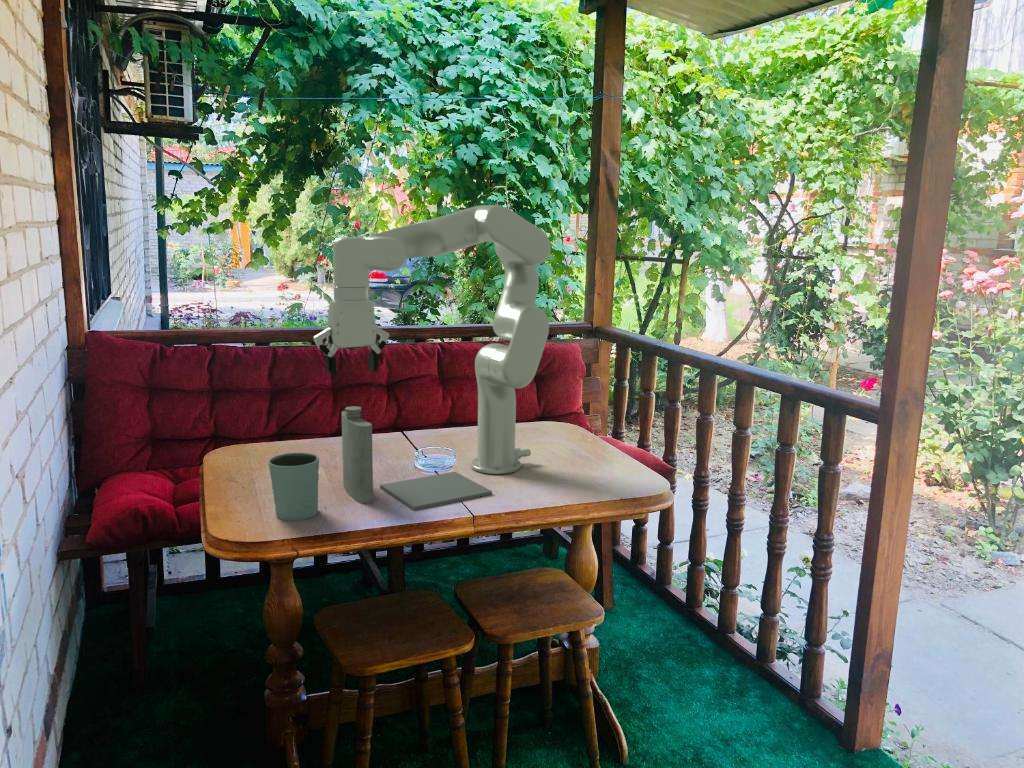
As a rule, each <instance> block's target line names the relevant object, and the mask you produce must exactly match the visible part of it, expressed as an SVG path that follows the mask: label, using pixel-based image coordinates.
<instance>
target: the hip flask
mask: <svg viewBox="0 0 1024 768" xmlns="http://www.w3.org/2000/svg"><path fill="white" fill-rule="evenodd" d="M361 412H362V407H361V406H358V405H357V406H354V405H353V406H346V407H345V408H344V410H342V411H341V443H342V445H341V447H342V450H341V451H342V453H341V454H342V484H343V488H344V490H345V491H346V493H347V494H348V495H349V496H350V497H351V498H352V499H353V500H355V501H356V502H358V503H360V504H371V503H373V502H374V479H373V478H374V473H373V472H374V470H373V468H374V467H373V466H374V465H373V460H374V459H373V458H374V457H373V424H372V423H371V422H368V421H366V420H364V419H363V418H361Z"/></svg>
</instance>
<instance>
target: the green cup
mask: <svg viewBox="0 0 1024 768" xmlns="http://www.w3.org/2000/svg"><path fill="white" fill-rule="evenodd" d="M267 462H268V467H269V474H270V480H271V485H272V486H271V487H272V488H271V489H272V494H273V503H274V506H275V507H274V510H275V515H276V518H278V519H279V518H280V520H283V521H291V522H293V521H296V522H297V521H304V520H308V519H310V517H311V518H313V517H314V516H316V515H317V514H318V513H319V510H318V509H319V500H318V499H319V479H320V478H319V476H320V475H319V470H320V469H319V467H320V456H318V455H317V454H315V453H311V452H289V453H284V454H279V455H275V456H273V457H271V458H270V459H269V460H268V461H267ZM307 518H308V519H307ZM303 519H304V520H303Z"/></svg>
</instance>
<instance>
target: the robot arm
mask: <svg viewBox="0 0 1024 768" xmlns="http://www.w3.org/2000/svg"><path fill="white" fill-rule="evenodd" d="M482 243H494V249H495V253H496V255H497V257H498V259H499V261H500V262H501V265H502V267H503V271H504V277H505V278H504V279H505V280H504V283H503V284H504V285H503V288H502V292H501V295H500V298H499V301H498V304H497V308H496V310H495V314H494V317H493V322H492V329H493V333H494V334H495V335H496V336H497V337H498V338H501V339H503V340H505V341H508V342H509V341H510V342H509V345H506V344H502V343H489V344H486V345H483V346H482V347H481V348H480V349H479V350H478V352H477V354H476V355H475V359H474V372H475V378H476V383H477V385H476V386H477V458H474V459H473V460H472V461H471V465H470V466H471V468H472V469H473V470H474V471H476V472H479V473H482V474H488V475H489V474H490V475H493V474H494V475H503V474H511V473H514V472H517V471H519V470H520V469H521V467H522V464H521V461H520V459H521V458H523V457H524V458H525V457H530V456H531V454H532V450H531V449H530V448H525V449H521V448H519V447H517V448H516V417H517V411H516V410H517V396H516V390H515V389H523V388H525V387H527V386H528V385H529V384H531V382H532V381H533V380H534V379H535V376H536V373H537V371H538V368H539V365H540V362H541V359H542V357H543V352H544V349H545V347H546V343H547V340H548V337H549V331H550V324H549V323H550V322H549V318H548V316H547V314H546V312H545V311H544V310H543V309H542V308H540V307H538V306H536V305H535V303H536V299H537V296H538V291H539V287H540V286H539V285H540V279H539V273H538V270H537V267H536V266H538V265H541V264H543V263H544V262H546V261H547V260H548V258H549V256H550V254H551V249H552V245H551V241H550V239H549V236H548V235H547V233H546V232H544V231H543V229H541V228H539V227H538V226H536V225H535V224H533V223H532V222H530V221H528V220H527V219H526V218H524V217H522V216H520V215H519V214H518V213H516V212H515V211H513V210H511V209H510V208H508V207H506V206H503V205H499V204H490V205H489V204H488V205H486V204H485V205H484V204H483V205H475V206H471V207H467V208H465V209H461V210H459V211H458V210H457V211H455V212H452V213H448V214H444V215H441V216H437V217H433V218H431V219H426V220H423V221H419V222H415V223H413V224H412V223H411V224H408V225H403V226H400V227H395V228H393V229H392V228H391V229H389V230H385V231H382V232H377V233H374V234H371V235H368V236H367V237H364V238H363V237H358V236H356V237H355V236H342V237H341V236H340V237H337V238H335V239H334V241H333V243H332V256H333V257H332V261H333V262H332V265H333V267H332V268H333V271H332V272H333V300H331V301H329V306H328V312H327V320H326V323H327V324H326V328H325V329H324V330H322V331H321V332H319V333H317V334H316V335H314V336H313V338H312V339H313V342H314V343H315V346H316V347H317V349H318V350H319V351H320V352H321V353H322V354H323V355H324V356H325V371H327V374H328V375H331V376H335V375H337V359H336V357H335V354H336V352H337V351H338V350H339V349H343V348H360V347H361V348H362V347H367V348H368V349H369V350H370V351H369V352H368V370H369V371H371V372H373V373H374V372H375V373H376V372H378V368H379V365H380V364H379V362H380V359H379V358H380V357H379V356H380V355H379V354H381V352H382V349H384V347H385V346H386V345H387V342H388V341H389V338H390V333H389V332H387V331H386V330H384V329H382V328H379V327H377V326H376V325H377V323H376V316H375V309H374V304H373V301H372V300H370V299H371V296H375V294H376V291H375V289H374V288H371V286H370V271H380V272H387V273H389V272H392V273H393V272H395V271H397V270H400V269H401V268H402V267H403V266H404V265H405V264H406V262H407V260H408V259H414V258H425V257H427V258H429V257H439V256H445V255H448V254H450V253H454V252H457V251H459V250H462V249H467V248H469V247H473V246H475V245H479V244H482ZM377 335H379V336H380V337H379V340H378V341H377ZM324 339H326V342H327V344H328V345H327V346H325V344H324V342H323V340H324ZM376 341H377V342H376Z"/></svg>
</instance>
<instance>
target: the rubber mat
mask: <svg viewBox="0 0 1024 768" xmlns="http://www.w3.org/2000/svg"><path fill="white" fill-rule="evenodd" d="M379 488H380V489H381V490H382V491H383V492H386V493H387V494H388V495H390V496H391V497H393V498H394V499H396V500H397V501H398V502H401V503H402V504H403V505H404V506H406V507H408V508H409V509H411V510H412V511H417V510H418V511H419V510H422V509H426V508H432V507H436V505H437V506H441V505H440V504H442V505H446V504H445V503H447V504H451V503H450V502H452V503H456V501H457V502H460V501H461V500H462V501H466V500H465V499H467V500H471V499H470V498H472V499H476V498H475V497H477V498H481V497H480V496H482V497H486V496H485V495H487V496H491V495H490V494H493V491H492V490H491V489H489V488H487V487H485V486H484V485H481V484H479V483H478V482H476V481H473V480H472V479H470V478H468V477H466V476H464V475H462V474H461V473H459V472H457V471H451V472H445V473H439V474H438V473H437V474H433V475H427V476H422V477H418V478H417V477H416V478H411V479H405V480H399V481H394V482H388V483H383V484H379ZM431 506H432V507H431Z"/></svg>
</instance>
